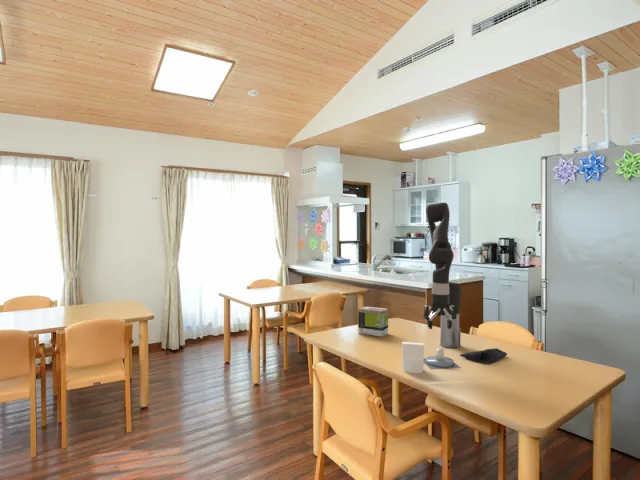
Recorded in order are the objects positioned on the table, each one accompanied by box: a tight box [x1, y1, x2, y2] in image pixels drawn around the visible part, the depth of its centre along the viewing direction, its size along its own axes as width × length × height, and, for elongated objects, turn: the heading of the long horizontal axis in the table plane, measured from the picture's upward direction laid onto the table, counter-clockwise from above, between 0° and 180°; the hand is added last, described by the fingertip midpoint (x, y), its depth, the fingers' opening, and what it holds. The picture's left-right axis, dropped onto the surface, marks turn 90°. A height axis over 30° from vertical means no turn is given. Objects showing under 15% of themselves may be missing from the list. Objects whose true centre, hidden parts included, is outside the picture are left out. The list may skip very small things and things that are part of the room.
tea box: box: [357, 306, 389, 337], centre depth 237 cm, size 15×10×15 cm, turn 58°
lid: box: [425, 347, 455, 368], centre depth 184 cm, size 12×12×6 cm
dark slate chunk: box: [459, 348, 508, 365], centre depth 194 cm, size 15×22×5 cm
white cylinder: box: [401, 341, 425, 374], centre depth 175 cm, size 9×9×12 cm
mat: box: [424, 357, 462, 370], centre depth 184 cm, size 14×14×1 cm
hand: (439, 328), depth 183 cm, fingers open, 8 cm apart
